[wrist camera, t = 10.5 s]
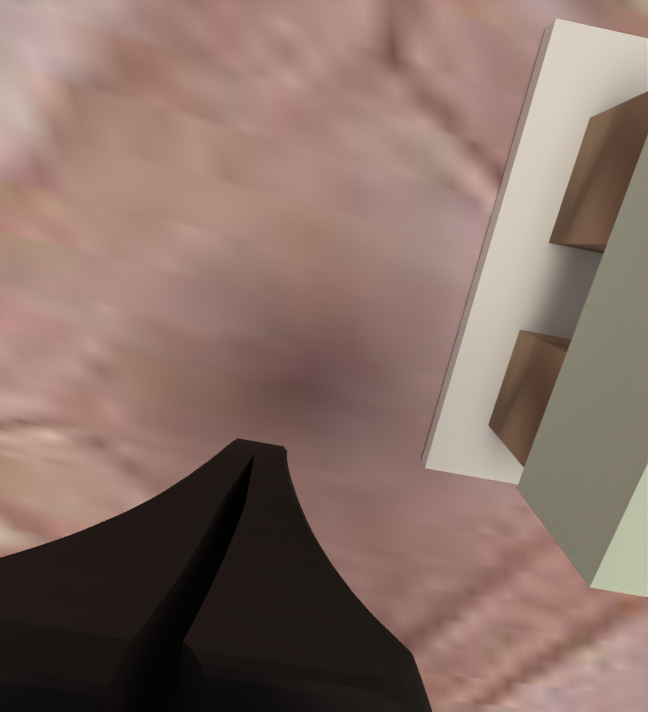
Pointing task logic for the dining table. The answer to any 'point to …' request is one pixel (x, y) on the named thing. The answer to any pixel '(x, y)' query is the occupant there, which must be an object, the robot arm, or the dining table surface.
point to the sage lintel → (602, 417)
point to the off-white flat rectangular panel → (530, 241)
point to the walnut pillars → (577, 230)
